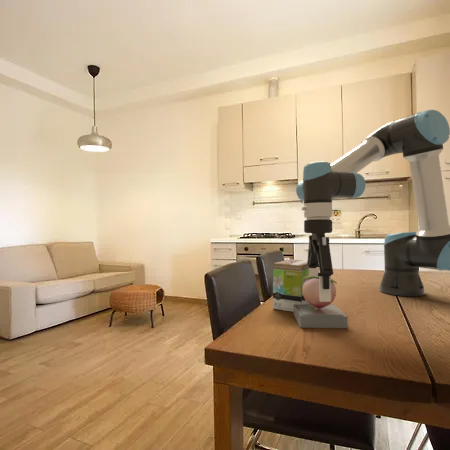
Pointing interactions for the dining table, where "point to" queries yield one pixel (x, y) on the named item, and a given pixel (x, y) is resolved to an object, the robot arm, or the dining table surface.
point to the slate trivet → (320, 316)
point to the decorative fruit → (316, 292)
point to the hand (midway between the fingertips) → (319, 295)
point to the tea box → (289, 283)
